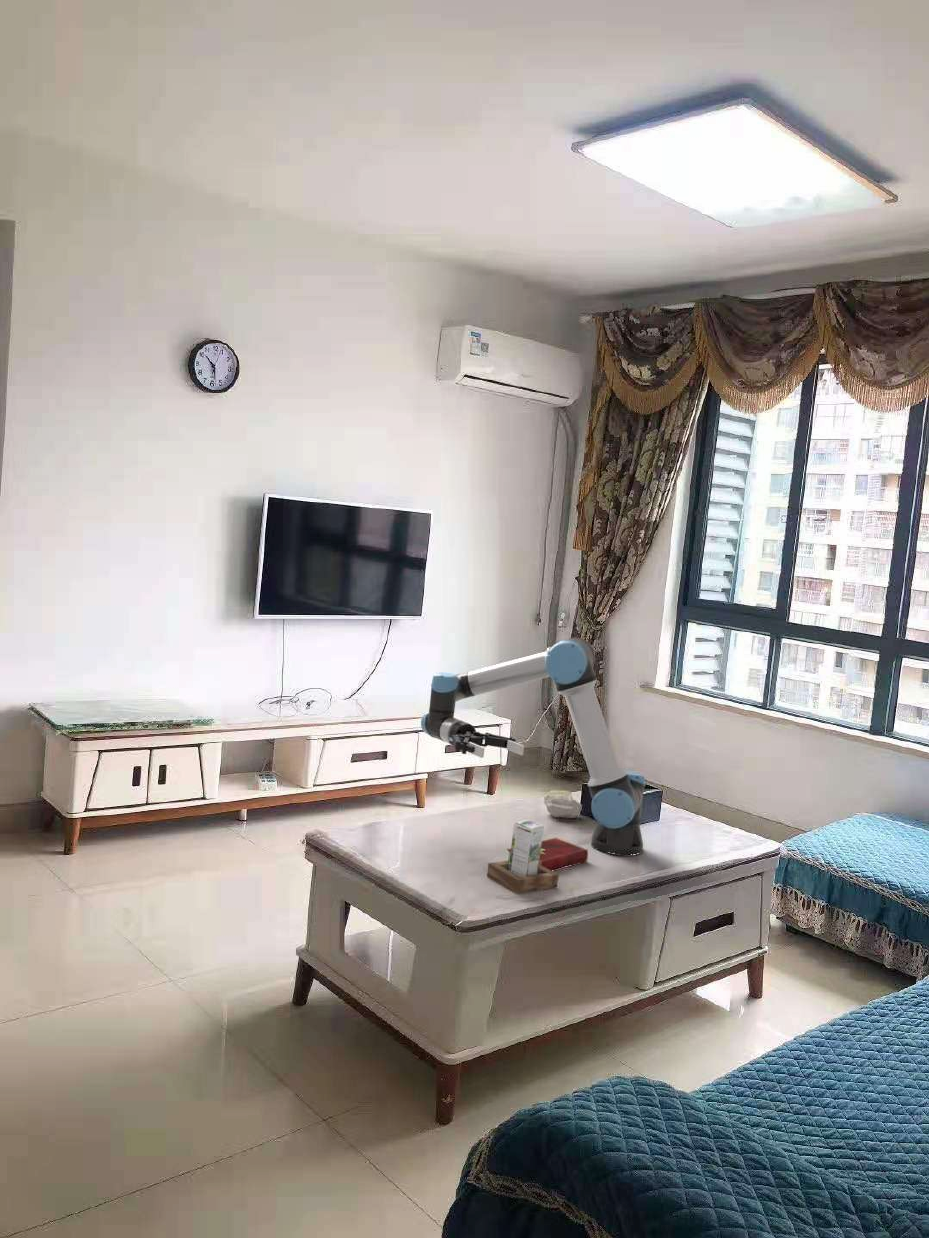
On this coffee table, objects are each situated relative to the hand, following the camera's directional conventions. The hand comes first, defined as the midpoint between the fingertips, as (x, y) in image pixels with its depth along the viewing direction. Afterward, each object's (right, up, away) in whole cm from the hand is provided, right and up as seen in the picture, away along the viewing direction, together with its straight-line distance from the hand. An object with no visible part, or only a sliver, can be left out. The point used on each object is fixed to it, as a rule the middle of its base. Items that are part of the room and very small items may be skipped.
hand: (503, 751), depth 278 cm
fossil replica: (+21, -28, +52) cm, 62 cm away
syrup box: (+5, -31, -13) cm, 34 cm away
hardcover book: (+12, -32, +5) cm, 35 cm away
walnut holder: (+4, -32, -13) cm, 35 cm away
